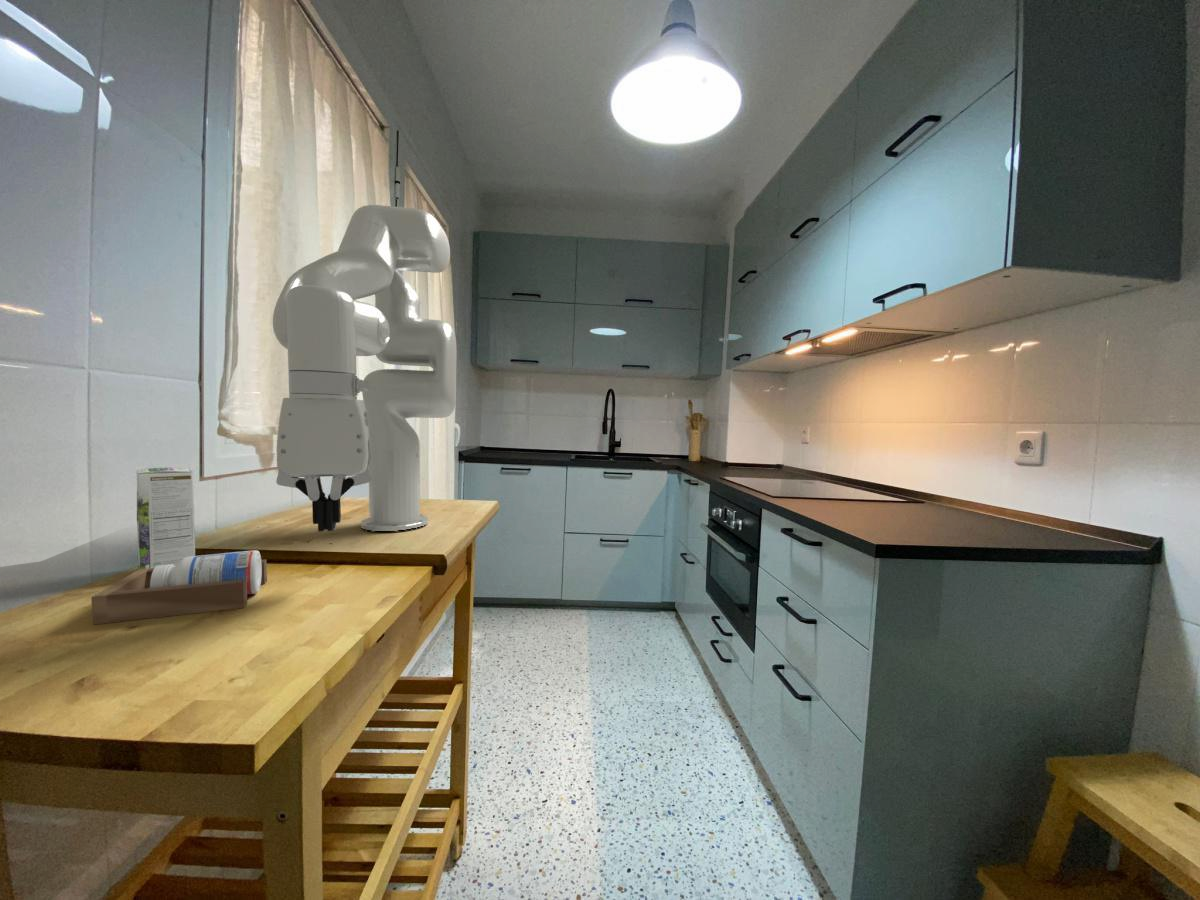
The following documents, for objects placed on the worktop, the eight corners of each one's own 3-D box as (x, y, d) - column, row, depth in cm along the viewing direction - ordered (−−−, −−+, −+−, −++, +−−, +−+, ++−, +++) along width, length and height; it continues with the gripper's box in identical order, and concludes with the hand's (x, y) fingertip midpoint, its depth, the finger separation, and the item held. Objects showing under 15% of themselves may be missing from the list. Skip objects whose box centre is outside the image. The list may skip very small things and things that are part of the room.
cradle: (140, 592, 58) (139, 569, 58) (267, 581, 63) (266, 559, 63) (92, 624, 49) (91, 596, 49) (244, 607, 54) (243, 582, 54)
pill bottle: (262, 590, 61) (164, 603, 57) (262, 549, 62) (165, 558, 57) (254, 596, 56) (146, 610, 52) (254, 550, 57) (148, 560, 52)
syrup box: (137, 570, 66) (132, 468, 65) (192, 561, 71) (188, 466, 70) (140, 580, 62) (135, 472, 61) (198, 570, 67) (194, 469, 66)
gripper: (389, 391, 66) (390, 519, 68) (263, 387, 61) (267, 526, 62) (386, 389, 59) (388, 531, 61) (243, 384, 54) (249, 540, 55)
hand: (327, 528), depth 61 cm, fingers closed
